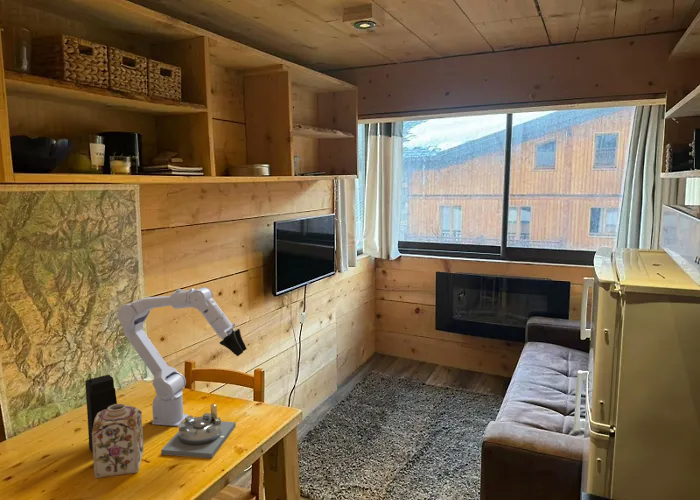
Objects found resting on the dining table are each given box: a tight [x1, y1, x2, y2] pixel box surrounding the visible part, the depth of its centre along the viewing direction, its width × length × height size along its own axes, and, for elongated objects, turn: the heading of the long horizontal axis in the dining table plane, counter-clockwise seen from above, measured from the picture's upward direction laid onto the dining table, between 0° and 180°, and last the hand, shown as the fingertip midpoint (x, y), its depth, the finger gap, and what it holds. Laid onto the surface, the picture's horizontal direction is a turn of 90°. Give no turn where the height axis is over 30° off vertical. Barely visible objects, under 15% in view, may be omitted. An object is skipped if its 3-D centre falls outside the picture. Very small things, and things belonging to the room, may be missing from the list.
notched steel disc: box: [178, 403, 222, 445], centre depth 160 cm, size 13×13×8 cm
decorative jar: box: [91, 403, 144, 479], centre depth 145 cm, size 12×12×18 cm
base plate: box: [160, 420, 236, 459], centre depth 161 cm, size 16×20×2 cm
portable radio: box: [84, 373, 118, 454], centre depth 154 cm, size 8×6×25 cm
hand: (242, 352), depth 165 cm, fingers open, 7 cm apart
